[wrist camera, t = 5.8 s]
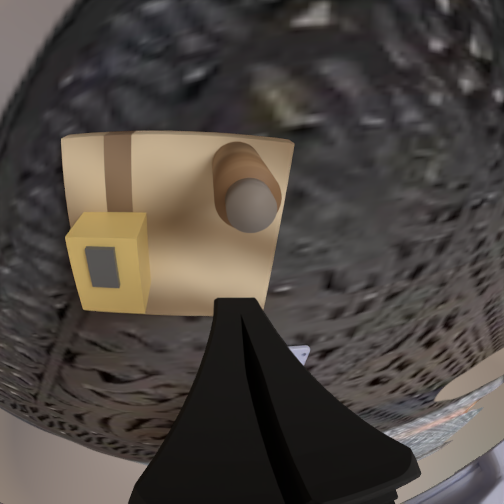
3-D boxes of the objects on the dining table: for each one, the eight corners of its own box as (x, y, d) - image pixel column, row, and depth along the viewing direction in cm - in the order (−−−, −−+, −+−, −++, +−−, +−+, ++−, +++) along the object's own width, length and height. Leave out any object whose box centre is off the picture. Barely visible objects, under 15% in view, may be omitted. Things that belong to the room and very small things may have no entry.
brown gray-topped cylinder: (257, 188, 16) (281, 243, 11) (210, 186, 16) (213, 241, 11) (263, 143, 15) (293, 178, 10) (213, 139, 14) (217, 173, 9)
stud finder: (151, 282, 19) (144, 317, 16) (95, 279, 18) (82, 313, 15) (146, 212, 16) (135, 241, 13) (83, 212, 15) (62, 240, 13)
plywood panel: (259, 304, 23) (262, 315, 22) (93, 300, 20) (90, 310, 19) (288, 139, 16) (294, 143, 15) (69, 134, 14) (61, 138, 13)
